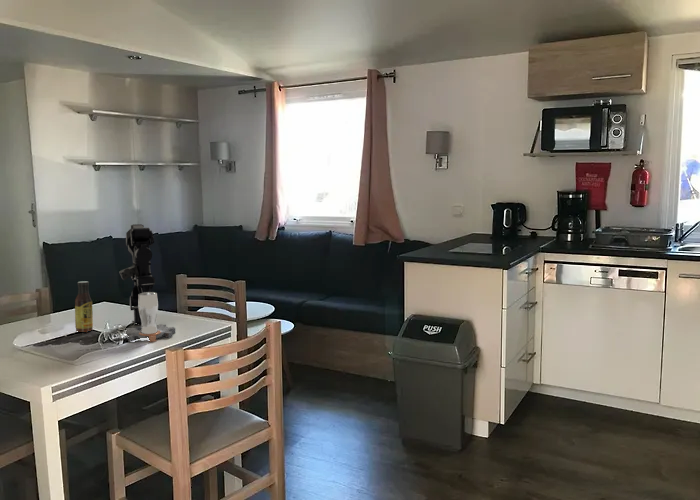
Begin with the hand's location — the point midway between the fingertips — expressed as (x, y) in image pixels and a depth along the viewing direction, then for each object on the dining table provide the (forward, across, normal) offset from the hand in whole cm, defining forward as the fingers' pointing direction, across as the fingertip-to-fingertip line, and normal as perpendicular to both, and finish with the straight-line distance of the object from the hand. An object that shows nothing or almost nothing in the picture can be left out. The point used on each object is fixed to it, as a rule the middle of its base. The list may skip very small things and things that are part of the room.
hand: (143, 298), depth 225 cm
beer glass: (+11, +12, 0) cm, 17 cm away
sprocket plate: (+13, +8, 0) cm, 15 cm away
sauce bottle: (+13, -10, -21) cm, 27 cm away
